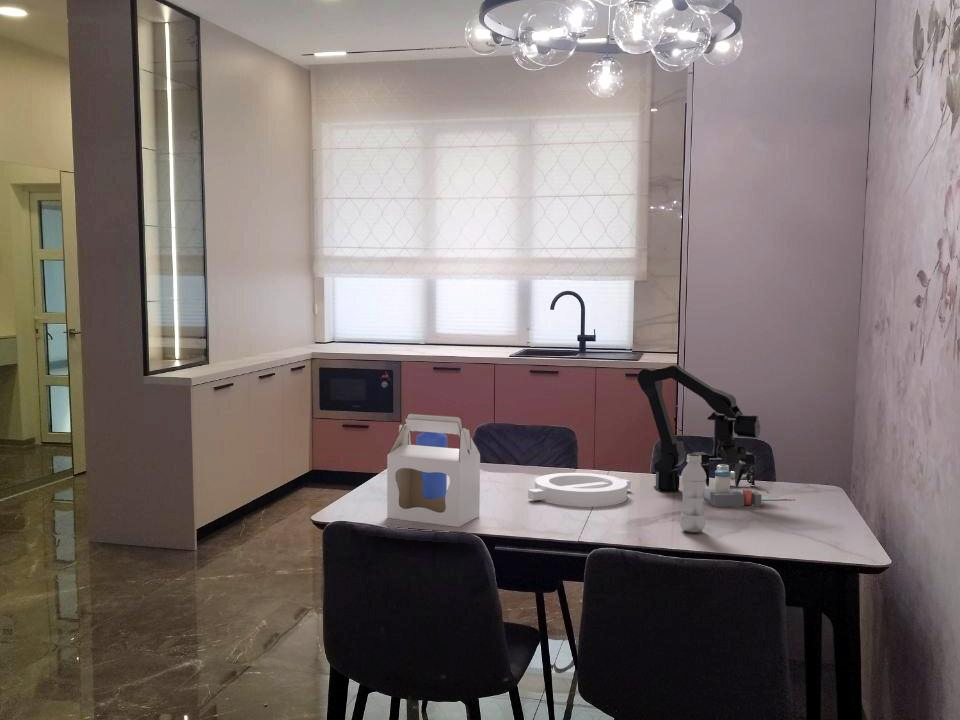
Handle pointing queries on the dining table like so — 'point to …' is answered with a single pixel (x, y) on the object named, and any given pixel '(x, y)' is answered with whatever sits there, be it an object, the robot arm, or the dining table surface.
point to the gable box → (412, 459)
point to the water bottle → (433, 481)
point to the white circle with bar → (580, 489)
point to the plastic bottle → (693, 495)
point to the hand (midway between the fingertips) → (722, 485)
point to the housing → (729, 498)
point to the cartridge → (722, 481)
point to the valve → (748, 475)
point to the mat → (769, 498)
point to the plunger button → (747, 497)
